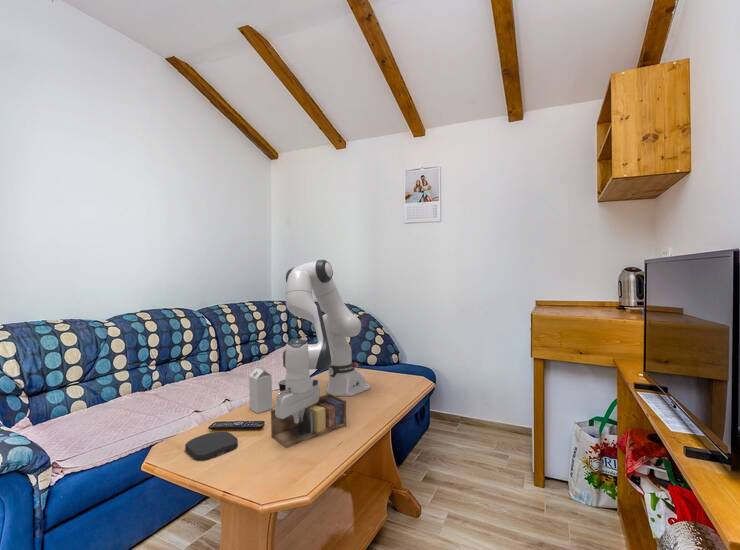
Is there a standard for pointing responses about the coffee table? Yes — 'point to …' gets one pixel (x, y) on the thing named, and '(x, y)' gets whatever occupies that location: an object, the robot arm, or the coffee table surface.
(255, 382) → the milk carton
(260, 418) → the coffee table surface
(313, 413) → the book
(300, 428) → the bookend
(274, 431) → the shelf
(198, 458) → the media streaming box
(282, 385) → the coffee mug
